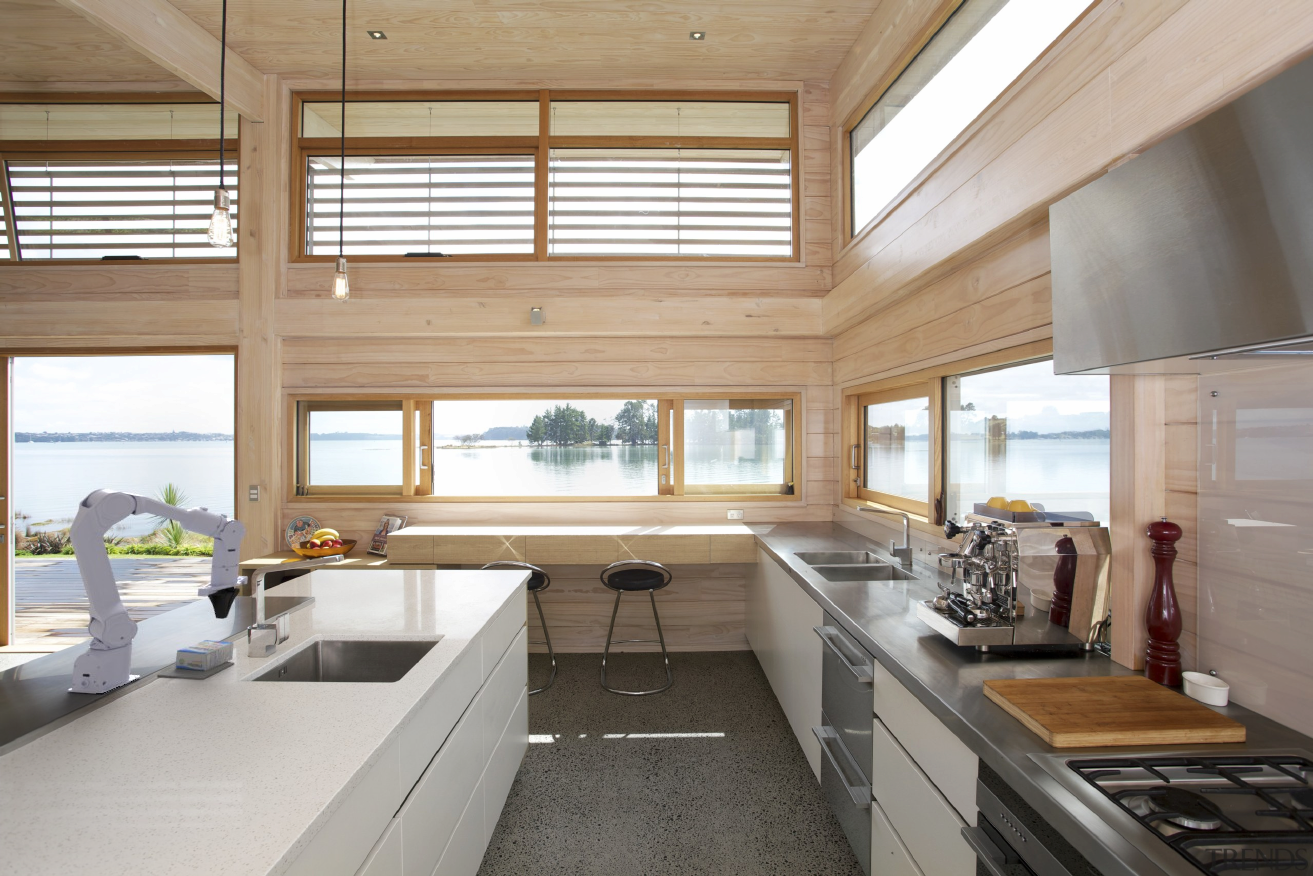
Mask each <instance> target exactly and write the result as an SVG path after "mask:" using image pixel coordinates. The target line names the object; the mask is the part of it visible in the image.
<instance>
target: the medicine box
mask: <svg viewBox="0 0 1313 876" xmlns="http://www.w3.org/2000/svg"><path fill="white" fill-rule="evenodd" d="M233 651H234V642H231V641H219V640H209V639H205V640H201V641H199V642H196V643H194V644H191V645H188V646H186V647H184V648H181V649H178V650H176V657H175V658H176V659H175V667H176V668H183V669H193V670H202V671H206V670H209V669H211V668H213V667H216V666H218V665H220V664H223V663H225V662H230V661H231V660H233V659H234V658H233V656H234V652H233Z"/></svg>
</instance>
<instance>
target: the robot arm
mask: <svg viewBox="0 0 1313 876" xmlns="http://www.w3.org/2000/svg"><path fill="white" fill-rule="evenodd" d="M208 510H209V508H208V507H204V506H200V508H199V507H192V508H189V509H185V508H181V507H178V506H175V505H173V504H170V503H167V502H164V501H160V500H158V499H156V498H152V497H150V496H146V495H141V494H136V493H130V492H124V491H116V490H113V489H111V488H99V489H96V490H93V491H92V492H90V493H89V494H87V496H86V497H85V498H83V499H82V500H81V501H80V502H79V506H78V511H77V513H76V515H75V518H74V520H73V522H72V524H71V526H70V528H69V530H68V536H69V540H70V542H71V547H72V549H73V552H74V556H75V559H76V562H77V565H78V569H79V573H80V576H81V579H82V583H83V586H84V589H85V592H86V595H87V600H88V602H89V605H90V609H89V610H88V611H89V612H88V614H89V622H88V625H87V631H88V634H89V635H90V636H91V637H92V640H91V642H90V643H89V648H88V649H87V650H86V651H85V652H84V653H82V654H80V655H79V656H77V658H76V659H75V660H74V663H73V669H72V671H73V672H72V682H71V683H72V684H71V687H70V688H68V689H67V692H69V693H81V694H85V693H86V694H96V693H103V692H106V691H108V690H111V689H113V688H115V689H117V688H116V687H118V686H120V687H122V686H124V684H125V685H127V684H130V683H131V681H132V682H134V681H136V680H138V679H140V678H141V675H136V674H131V667H132V653H133V640H134V638H135V637H136V636H137V634H138V630H139V628H138V624H137V622H136V621H134V619H132V618H131V617H130V615H129V613H128V611H127V609H126V607H125V605H124V604H123V602H122V600H121V596H120V593H119V589H118V586H117V583H116V579H115V575H114V572H113V570H112V569H113V568H112V566H111V562H110V557H109V556H108V551H107V547H106V544H105V541H104V538H103V537H104V535H105V534H107V532H108V531H109V530H110V529H111V528H112V527H113V526H114V525H116V524H117V523H119V522H121V521H123V520H124V519H126V518H128V517H129V516H131V515H133V516H138V515H143V514H151V515H153V516H154V515H155V516H157V517H161V518H163V519H164V518H165V519H168V520H172V521H175V522H178V523H179V524H180V526H181V528H182V529H183V530H184V531H189V532H193V533H195V534H199V535H203V536H204V537H205V536H206V537H210V538H212V539H213V548H212V561H211V574H210V582H209V583H207V584H206V585H204V586H202V587H199V588H198V589H197V597H204V598H205V597H207V598H208V599H209V600H210V602H211V604H212V607H213V610H214V615H215V619H223V620H224V619H227V618H228V617H229V613H230V611H231V608H232V605H233V603H234V601H235V600H236V598H237V596H238V595H239V594H240V592H241V591H240V589H241V588H236V587H239V586H241V585H247V584H248V578H249V577H248V576H247V575H246V576H245V575H243V576H242V575H239V571H240V569H239V568H240V556H241V555H240V554H241V541H242V540H243V538H245V536H246V534H247V529H246V528H245V525H244V524H243V522H241V521H240V520H237V519H233V518H228V515H227V514H224V513H221V514H217V513H215V512H211V511H208ZM139 677H140V678H139ZM135 679H136V680H135ZM133 680H134V681H133ZM118 688H119V687H118ZM113 690H114V689H113ZM111 691H112V690H111ZM108 692H109V691H108ZM106 693H107V692H106Z"/></svg>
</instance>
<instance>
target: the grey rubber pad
mask: <svg viewBox="0 0 1313 876" xmlns="http://www.w3.org/2000/svg"><path fill="white" fill-rule="evenodd" d="M233 665H235V662H233V661H231V662H230V661H227V662H225V663H223V664H220V665H218V666H216V667H213V668H211V669H209V670H206V671H202V670H193V669H183V668H176V666H174V667H172V668H170V669H168V670H165V671H162V672H161V673H158V674H157V675H156V676H157V677H159V678H160V677H161V678H176V679H187V680H189V679H191V680H206V679H207V678H209V677H211V676H213V675H215V674H217V673H220V672H222V671H223V670H226V669H227V668H229V667H231V666H233Z"/></svg>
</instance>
